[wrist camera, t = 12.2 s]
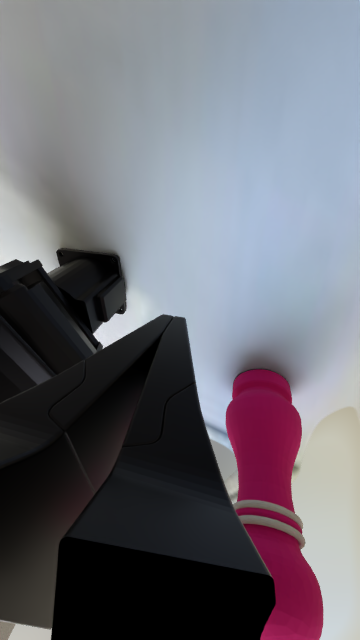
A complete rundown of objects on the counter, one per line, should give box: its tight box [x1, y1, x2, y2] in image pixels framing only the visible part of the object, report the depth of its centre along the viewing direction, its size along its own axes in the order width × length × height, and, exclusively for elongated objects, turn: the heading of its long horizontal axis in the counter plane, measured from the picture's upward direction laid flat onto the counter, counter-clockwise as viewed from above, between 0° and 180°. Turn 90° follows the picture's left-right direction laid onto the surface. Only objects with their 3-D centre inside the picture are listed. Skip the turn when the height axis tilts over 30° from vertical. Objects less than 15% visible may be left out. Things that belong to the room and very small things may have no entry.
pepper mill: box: [226, 369, 323, 640], centre depth 19 cm, size 7×7×20 cm
